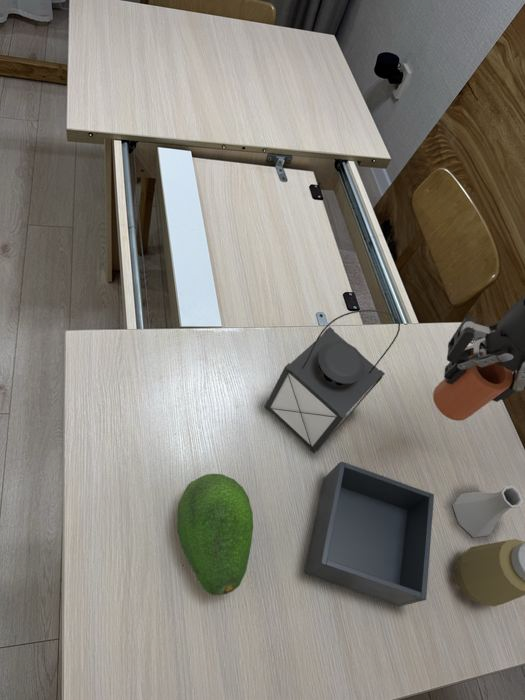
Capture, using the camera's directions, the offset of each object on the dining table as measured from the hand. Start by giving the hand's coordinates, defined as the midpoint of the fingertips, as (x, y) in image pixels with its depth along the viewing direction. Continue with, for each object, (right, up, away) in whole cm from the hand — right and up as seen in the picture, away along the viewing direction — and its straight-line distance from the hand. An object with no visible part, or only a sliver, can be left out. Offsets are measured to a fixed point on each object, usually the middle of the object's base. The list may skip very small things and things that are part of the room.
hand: (470, 386), depth 66 cm
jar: (-1, -2, +4) cm, 5 cm away
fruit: (-35, -22, +4) cm, 41 cm away
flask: (+7, -22, +15) cm, 27 cm away
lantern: (-20, -5, +19) cm, 28 cm away
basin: (-13, -23, +9) cm, 28 cm away
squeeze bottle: (+4, -30, +9) cm, 31 cm away
